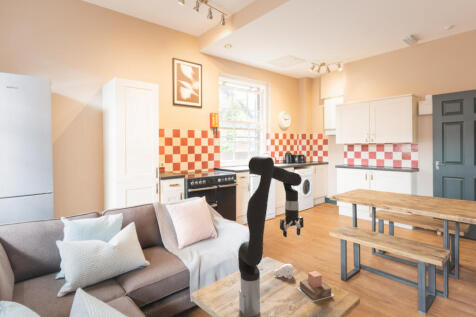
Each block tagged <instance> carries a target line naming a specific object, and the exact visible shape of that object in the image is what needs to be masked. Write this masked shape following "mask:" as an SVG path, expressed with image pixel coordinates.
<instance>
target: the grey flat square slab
mask: <svg viewBox="0 0 476 317" xmlns="http://www.w3.org/2000/svg"><path fill="white" fill-rule="evenodd" d="M296 290H298V291H299V292H300V293H301V294H302V295H304V296H305V298H307V299H308V300H309V301H311V303H315V302H319V301H323V300H326V299H328V298H329V299H330V298H332V297H335V294H333V293H331V296H328V297H324V298H321V299H317V300H313V299H312V298H310V297H309V296H308V295H307V294H306V293H305V292H303V291H302V290H301V289H300V286H299V287H296Z"/></svg>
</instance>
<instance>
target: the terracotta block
mask: <svg viewBox="0 0 476 317" xmlns="http://www.w3.org/2000/svg"><path fill="white" fill-rule="evenodd" d="M307 278H308V279H307V280H308V284H310V285H311V286H312V287H313V288H316V287H320V286H322V282H323V275H322V274H321V273H320V272H318V271H317V270H315V271H314V270H313V271H309V272H307Z"/></svg>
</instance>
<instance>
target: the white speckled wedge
mask: <svg viewBox="0 0 476 317" xmlns="http://www.w3.org/2000/svg"><path fill="white" fill-rule="evenodd" d="M293 274H294V265H292V263H285V264H283V265H282V266H280V267H279V268H278V269H277V268H276V269H274V270H273V275H274V276H275V277H276V278H279V276H281V277H283V278H284V279H288V280H291V279H292V278H293Z"/></svg>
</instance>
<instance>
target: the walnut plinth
mask: <svg viewBox="0 0 476 317" xmlns="http://www.w3.org/2000/svg"><path fill="white" fill-rule="evenodd" d="M299 287H300V289H301V290H302V291H303V292H305V293H306V294H307V295H308V296H309V297H310V298H312V299H313V300H317V299H321V298H324V297H328V296H331V294H332V288H331V286H329V285H328V284H326V283H325V282H323V281H322V286H320V287H316V288H313V287H312V286H311V285H310V284H308V279H303V280H300V281H299Z"/></svg>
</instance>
